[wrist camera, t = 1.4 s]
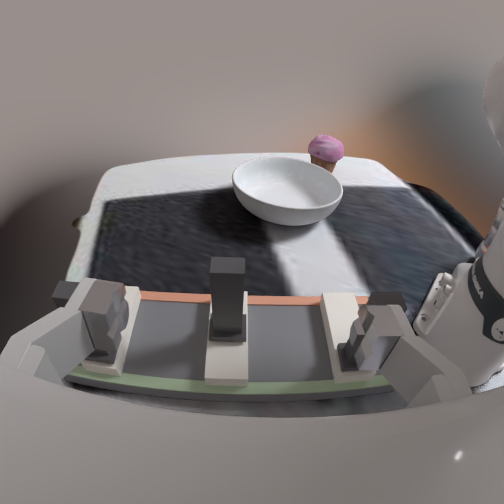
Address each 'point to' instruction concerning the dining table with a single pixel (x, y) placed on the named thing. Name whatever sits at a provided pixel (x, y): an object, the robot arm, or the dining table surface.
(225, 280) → the block
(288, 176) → the serving bowl
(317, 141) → the cupcake
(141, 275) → the dining table surface
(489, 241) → the plastic bottle
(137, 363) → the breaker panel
